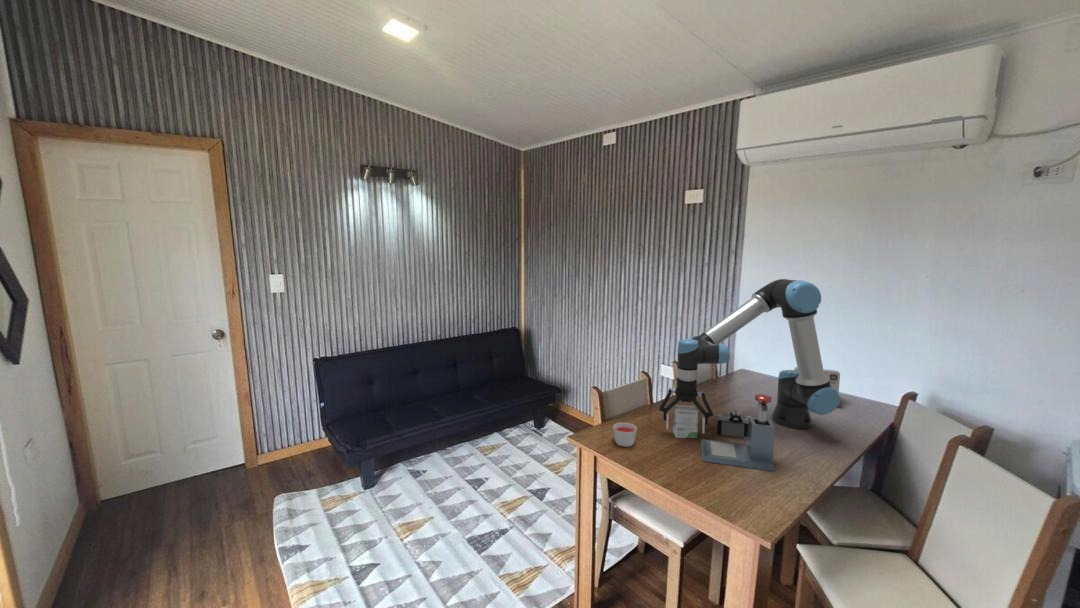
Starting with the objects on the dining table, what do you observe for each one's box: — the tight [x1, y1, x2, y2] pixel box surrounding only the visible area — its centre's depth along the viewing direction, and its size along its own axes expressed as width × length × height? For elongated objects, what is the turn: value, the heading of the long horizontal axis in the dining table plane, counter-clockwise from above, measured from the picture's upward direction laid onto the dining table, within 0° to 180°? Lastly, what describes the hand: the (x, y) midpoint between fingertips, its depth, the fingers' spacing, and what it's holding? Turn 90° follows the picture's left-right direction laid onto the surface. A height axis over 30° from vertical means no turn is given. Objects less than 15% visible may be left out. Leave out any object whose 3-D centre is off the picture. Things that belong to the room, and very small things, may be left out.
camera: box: [715, 410, 752, 440], centre depth 169 cm, size 16×9×10 cm, turn 70°
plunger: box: [754, 393, 772, 425], centre depth 147 cm, size 5×9×15 cm, turn 161°
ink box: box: [672, 404, 699, 439], centre depth 168 cm, size 9×5×12 cm, turn 84°
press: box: [700, 416, 776, 472], centre depth 150 cm, size 22×14×14 cm, turn 71°
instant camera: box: [793, 366, 841, 406], centre depth 211 cm, size 21×21×15 cm
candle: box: [612, 422, 638, 448], centre depth 163 cm, size 9×9×6 cm
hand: (685, 430), depth 169 cm, fingers open, 13 cm apart
